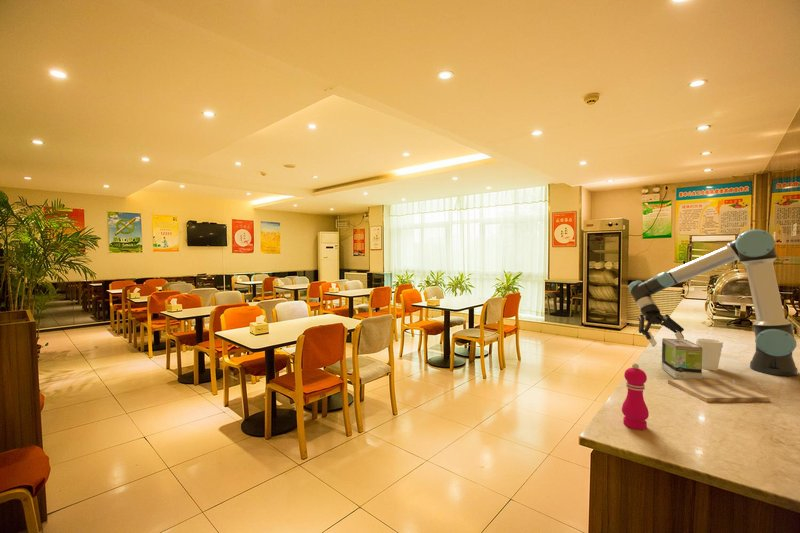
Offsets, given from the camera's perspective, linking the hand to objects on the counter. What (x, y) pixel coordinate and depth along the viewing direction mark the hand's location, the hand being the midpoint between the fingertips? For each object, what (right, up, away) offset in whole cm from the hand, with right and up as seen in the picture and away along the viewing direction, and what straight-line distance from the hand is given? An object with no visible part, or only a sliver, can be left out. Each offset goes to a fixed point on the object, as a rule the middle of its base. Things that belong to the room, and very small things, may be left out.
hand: (669, 345), depth 168 cm
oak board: (-2, -13, -26) cm, 29 cm away
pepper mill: (-50, -14, -52) cm, 74 cm away
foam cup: (+20, -11, +2) cm, 23 cm away
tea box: (0, -12, -7) cm, 14 cm away
